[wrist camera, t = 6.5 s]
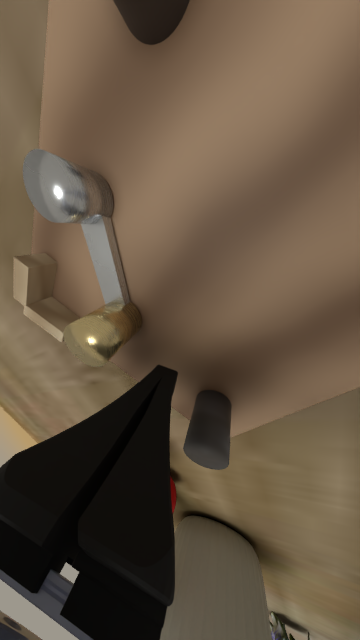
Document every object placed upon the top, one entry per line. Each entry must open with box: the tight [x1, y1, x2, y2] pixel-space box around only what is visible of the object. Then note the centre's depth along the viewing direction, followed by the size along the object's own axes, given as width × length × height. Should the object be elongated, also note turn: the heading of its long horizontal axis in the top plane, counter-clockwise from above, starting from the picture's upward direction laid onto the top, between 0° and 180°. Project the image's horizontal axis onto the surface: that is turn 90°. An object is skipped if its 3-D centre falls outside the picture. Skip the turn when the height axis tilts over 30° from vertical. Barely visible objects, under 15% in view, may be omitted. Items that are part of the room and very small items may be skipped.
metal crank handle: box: [23, 149, 142, 367], centre depth 8 cm, size 9×3×3 cm, turn 6°
